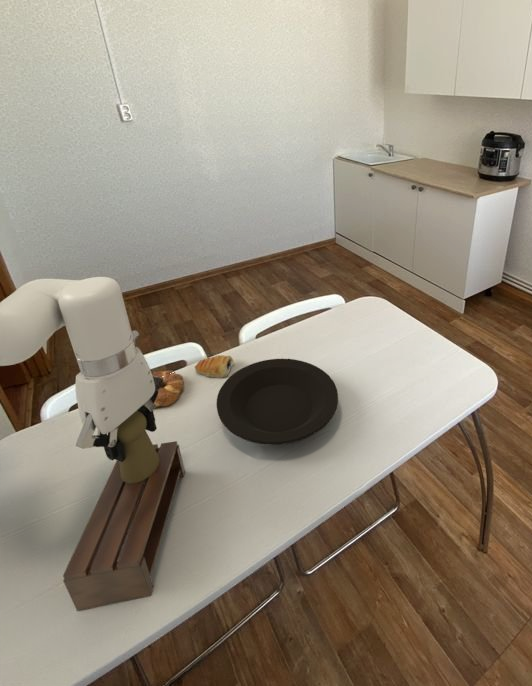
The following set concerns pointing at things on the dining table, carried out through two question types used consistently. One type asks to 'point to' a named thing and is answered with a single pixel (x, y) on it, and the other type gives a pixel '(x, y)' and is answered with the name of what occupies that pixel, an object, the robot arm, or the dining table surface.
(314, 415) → the plate
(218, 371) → the pastry
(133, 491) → the rack
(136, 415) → the olive green shaker
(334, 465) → the dining table surface
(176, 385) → the ring bread
